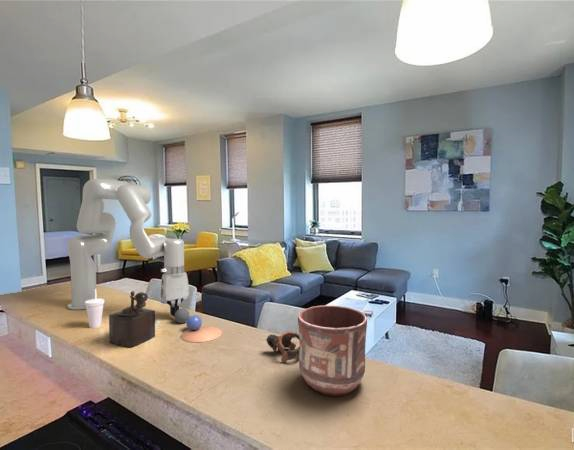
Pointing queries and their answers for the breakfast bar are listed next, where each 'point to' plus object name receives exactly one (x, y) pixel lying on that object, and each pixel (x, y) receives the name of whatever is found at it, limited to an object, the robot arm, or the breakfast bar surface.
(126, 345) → the brown coffee grinder
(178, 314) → the gray ball
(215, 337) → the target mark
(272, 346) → the brown curved piece
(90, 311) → the smoothie
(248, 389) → the breakfast bar surface
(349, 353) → the pottery
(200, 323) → the object ball
